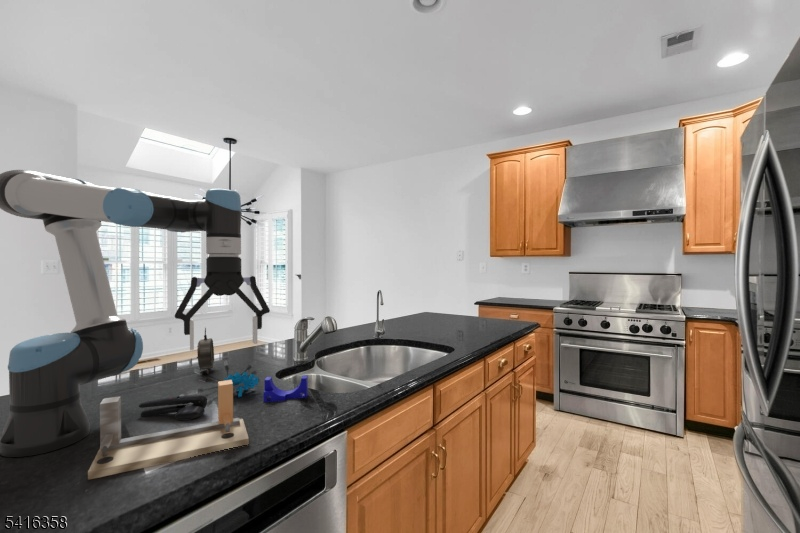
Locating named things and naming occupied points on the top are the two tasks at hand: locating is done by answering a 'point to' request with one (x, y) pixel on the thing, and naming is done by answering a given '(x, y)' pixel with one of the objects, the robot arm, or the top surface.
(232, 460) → the top surface
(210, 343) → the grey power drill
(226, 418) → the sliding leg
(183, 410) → the can opener
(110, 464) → the plate
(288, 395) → the cable clip
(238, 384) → the gear
